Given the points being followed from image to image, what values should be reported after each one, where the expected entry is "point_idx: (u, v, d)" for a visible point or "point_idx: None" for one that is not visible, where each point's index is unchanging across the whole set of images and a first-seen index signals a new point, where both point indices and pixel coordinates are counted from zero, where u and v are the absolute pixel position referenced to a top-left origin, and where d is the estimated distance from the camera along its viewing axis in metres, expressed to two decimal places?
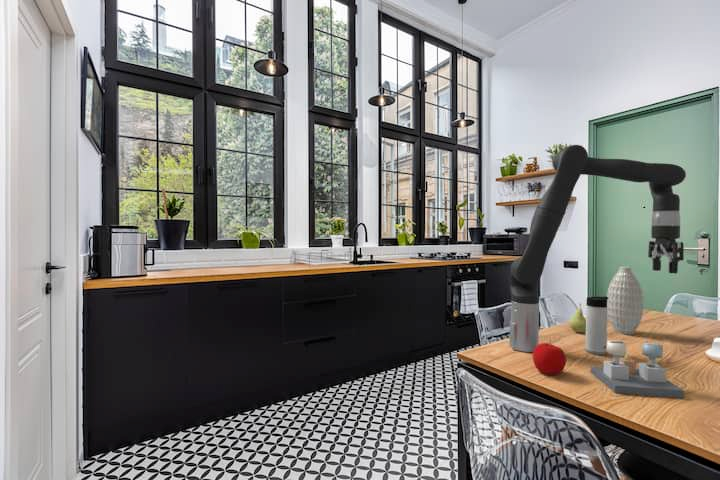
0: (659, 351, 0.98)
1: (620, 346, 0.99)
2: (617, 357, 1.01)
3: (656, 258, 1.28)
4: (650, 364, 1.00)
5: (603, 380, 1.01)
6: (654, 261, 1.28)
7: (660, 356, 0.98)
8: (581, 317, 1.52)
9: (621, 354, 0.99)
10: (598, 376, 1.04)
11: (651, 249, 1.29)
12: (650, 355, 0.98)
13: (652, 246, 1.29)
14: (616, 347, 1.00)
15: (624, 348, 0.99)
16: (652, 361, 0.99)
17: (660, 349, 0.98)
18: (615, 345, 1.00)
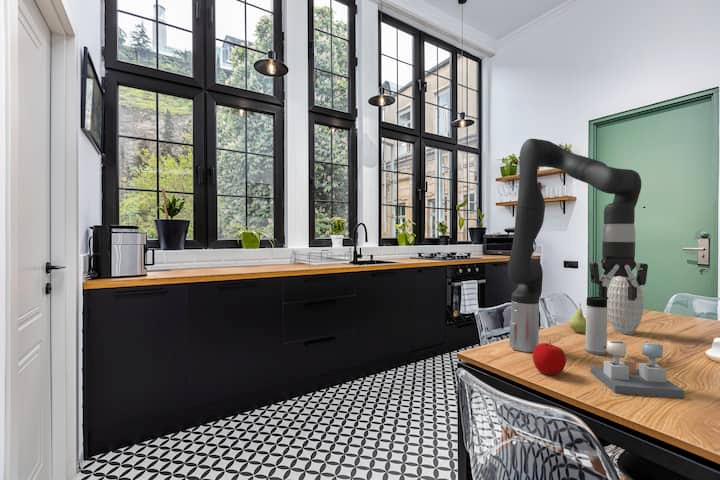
0: (659, 351, 0.98)
1: (620, 346, 0.99)
2: (617, 357, 1.01)
3: None
4: (650, 364, 1.00)
5: (603, 380, 1.01)
6: None
7: (660, 356, 0.98)
8: (581, 317, 1.52)
9: (621, 354, 0.99)
10: (598, 376, 1.04)
11: None
12: (650, 355, 0.98)
13: None
14: (616, 347, 1.00)
15: (624, 348, 0.99)
16: (652, 361, 0.99)
17: (660, 349, 0.98)
18: (615, 345, 1.00)
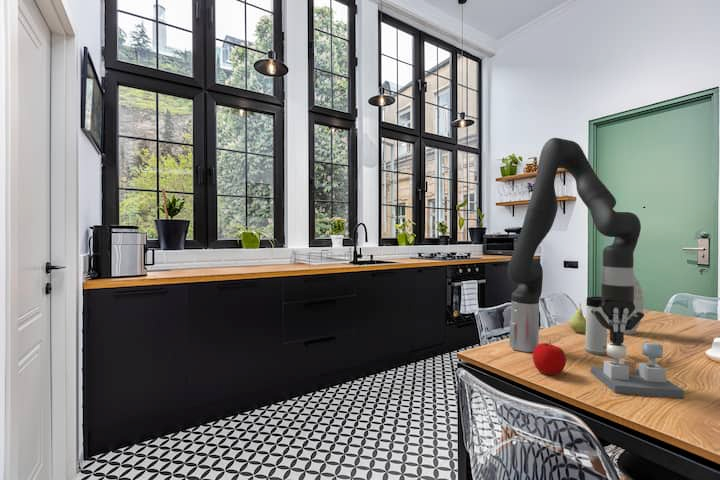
0: (659, 351, 0.98)
1: (620, 349, 0.99)
2: (617, 360, 1.01)
3: None
4: (650, 364, 1.00)
5: (603, 380, 1.01)
6: None
7: (660, 356, 0.98)
8: (581, 317, 1.52)
9: (621, 357, 0.99)
10: (598, 376, 1.04)
11: None
12: (650, 355, 0.98)
13: None
14: (616, 350, 1.00)
15: (624, 351, 0.99)
16: (652, 361, 0.99)
17: (660, 349, 0.98)
18: (615, 348, 1.00)
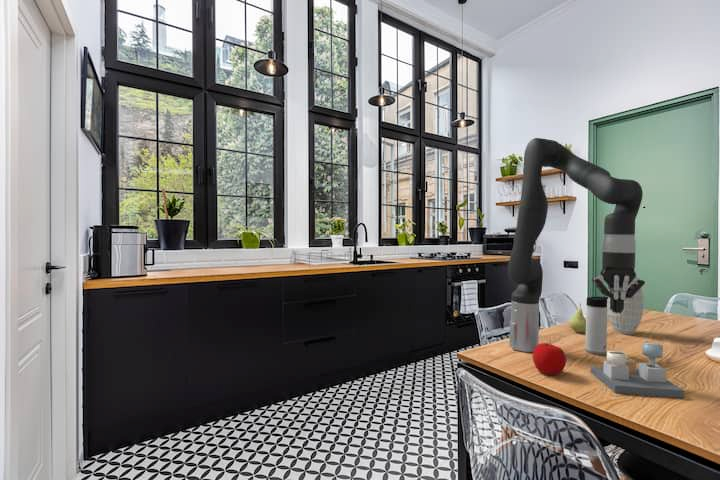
0: (659, 351, 0.98)
1: (620, 357, 0.99)
2: None
3: None
4: (650, 364, 1.00)
5: (603, 380, 1.01)
6: None
7: (660, 356, 0.98)
8: (581, 317, 1.52)
9: (621, 365, 0.99)
10: (598, 376, 1.04)
11: (604, 286, 1.01)
12: (650, 355, 0.98)
13: None
14: (616, 358, 1.00)
15: (624, 359, 0.99)
16: (652, 361, 0.99)
17: (660, 349, 0.98)
18: (615, 356, 1.00)
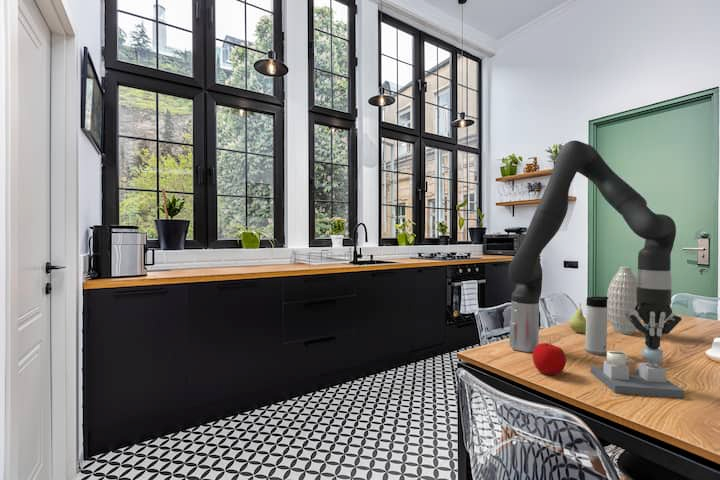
0: (659, 356, 0.98)
1: (620, 357, 0.99)
2: None
3: None
4: None
5: (603, 380, 1.01)
6: None
7: (660, 361, 0.98)
8: (581, 317, 1.52)
9: (621, 365, 0.99)
10: (598, 376, 1.04)
11: None
12: (650, 360, 0.98)
13: None
14: (616, 358, 1.00)
15: (624, 359, 0.99)
16: (652, 366, 0.99)
17: (660, 354, 0.98)
18: (615, 356, 1.00)
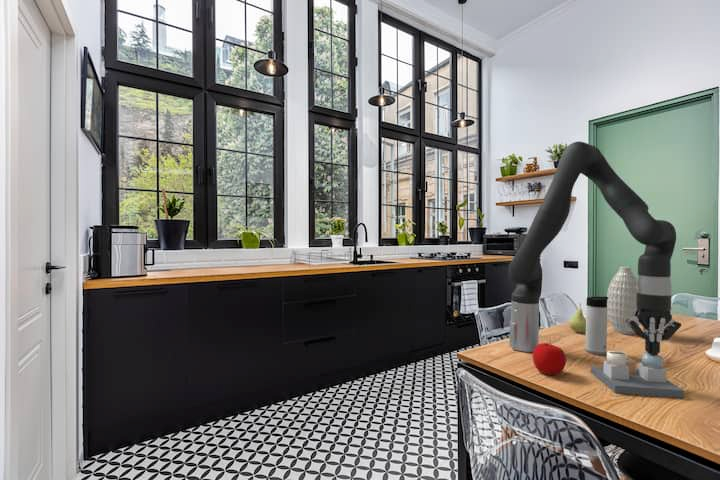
0: (659, 362, 0.98)
1: (620, 357, 0.99)
2: None
3: None
4: None
5: (603, 380, 1.01)
6: None
7: (660, 367, 0.98)
8: (581, 317, 1.52)
9: (621, 365, 0.99)
10: (598, 376, 1.04)
11: (640, 328, 0.99)
12: (650, 366, 0.98)
13: None
14: (616, 358, 1.00)
15: (624, 359, 0.99)
16: None
17: (660, 360, 0.98)
18: (615, 356, 1.00)
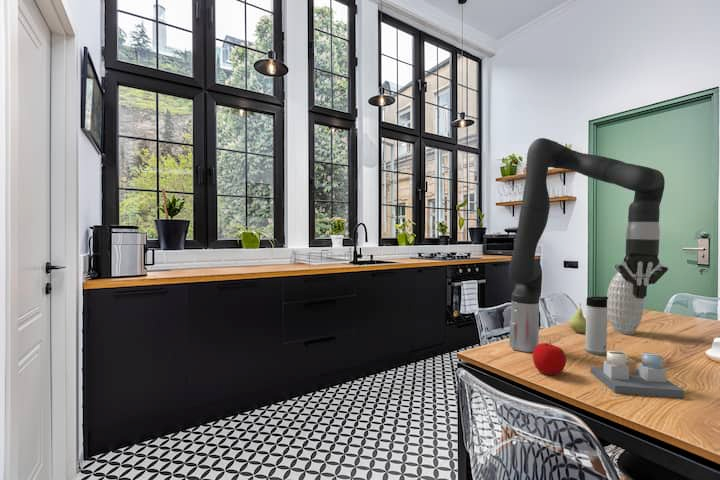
0: (659, 362, 0.98)
1: (620, 357, 0.99)
2: None
3: None
4: None
5: (603, 380, 1.01)
6: None
7: (660, 367, 0.98)
8: (581, 317, 1.52)
9: (621, 365, 0.99)
10: (598, 376, 1.04)
11: None
12: (650, 366, 0.98)
13: None
14: (616, 358, 1.00)
15: (624, 359, 0.99)
16: None
17: (660, 360, 0.98)
18: (615, 356, 1.00)
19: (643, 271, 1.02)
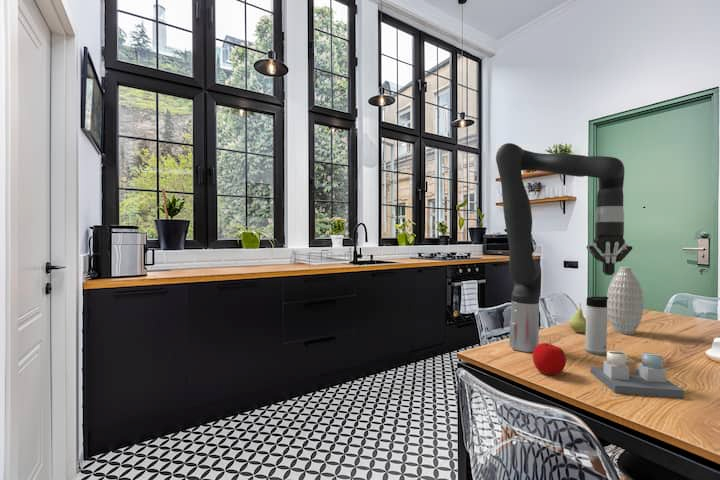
0: (659, 362, 0.98)
1: (620, 357, 0.99)
2: None
3: None
4: None
5: (603, 380, 1.01)
6: None
7: (660, 367, 0.98)
8: (581, 317, 1.52)
9: (621, 365, 0.99)
10: (598, 376, 1.04)
11: (597, 252, 1.15)
12: (650, 366, 0.98)
13: None
14: (616, 358, 1.00)
15: (624, 359, 0.99)
16: None
17: (660, 360, 0.98)
18: (615, 356, 1.00)
19: (611, 250, 1.15)
